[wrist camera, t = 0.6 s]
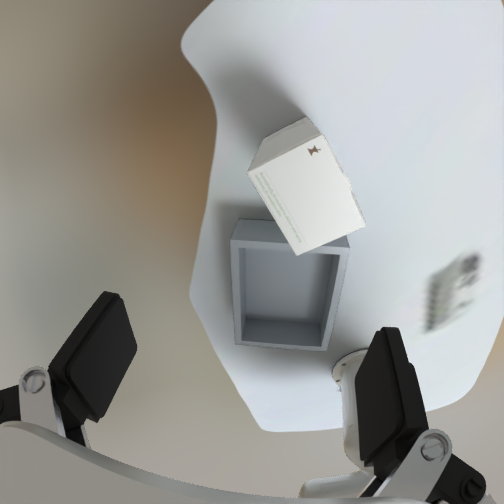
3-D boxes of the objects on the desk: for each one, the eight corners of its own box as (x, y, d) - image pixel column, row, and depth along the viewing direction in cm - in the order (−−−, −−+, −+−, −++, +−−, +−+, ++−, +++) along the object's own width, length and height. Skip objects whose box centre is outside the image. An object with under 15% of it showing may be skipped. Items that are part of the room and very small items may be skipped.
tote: (324, 324, 47) (326, 351, 42) (241, 318, 49) (235, 344, 43) (343, 225, 38) (349, 248, 33) (238, 218, 39) (229, 239, 34)
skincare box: (262, 138, 34) (238, 169, 20) (310, 113, 31) (322, 126, 18) (294, 195, 37) (293, 260, 23) (341, 173, 34) (369, 227, 21)
